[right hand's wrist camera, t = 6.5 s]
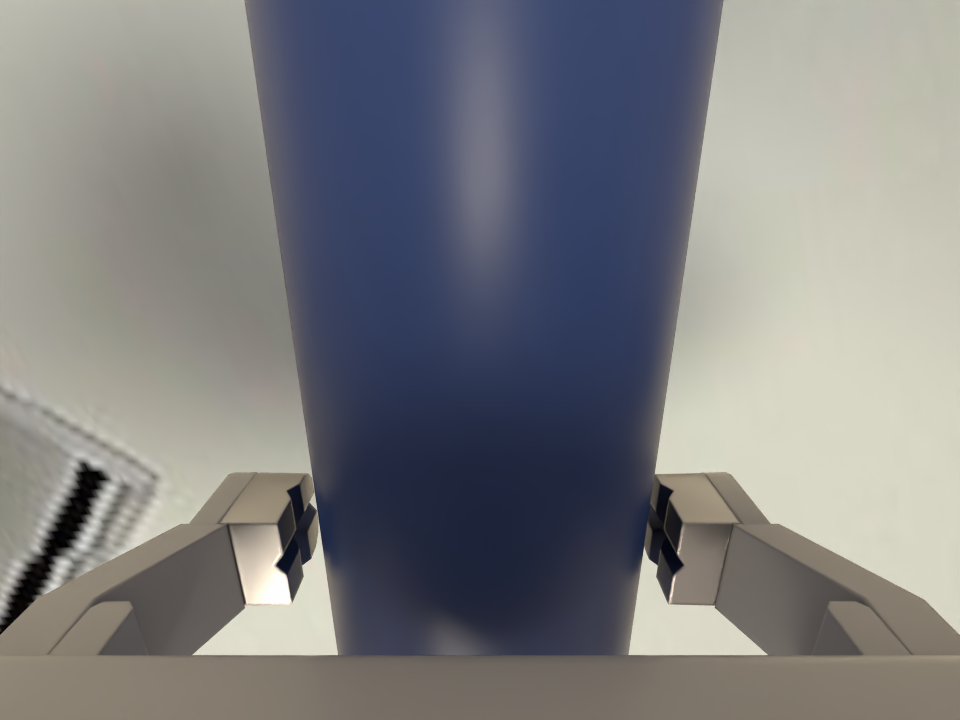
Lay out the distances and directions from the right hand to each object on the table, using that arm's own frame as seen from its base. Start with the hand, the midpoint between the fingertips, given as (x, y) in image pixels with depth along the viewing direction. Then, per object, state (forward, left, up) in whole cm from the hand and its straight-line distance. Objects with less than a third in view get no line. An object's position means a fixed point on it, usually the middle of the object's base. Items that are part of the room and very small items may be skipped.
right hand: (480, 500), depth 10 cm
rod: (0, +9, -3) cm, 9 cm away
